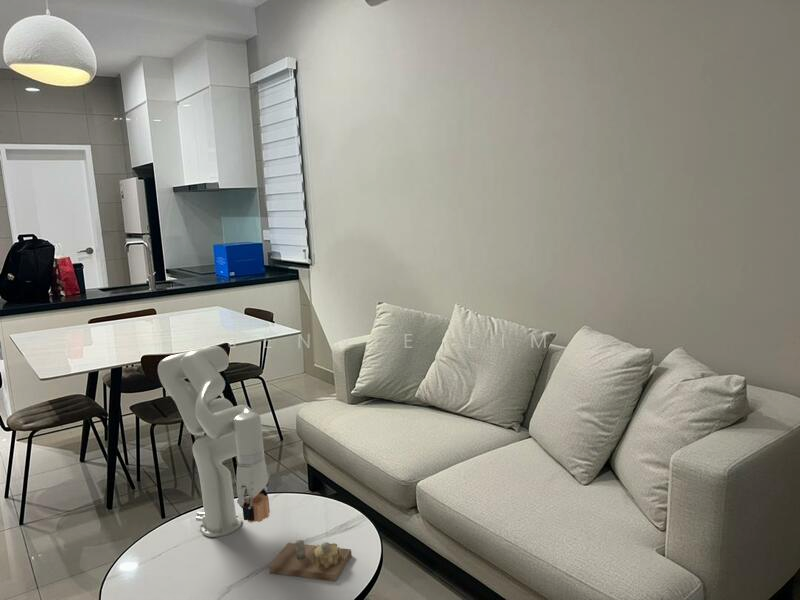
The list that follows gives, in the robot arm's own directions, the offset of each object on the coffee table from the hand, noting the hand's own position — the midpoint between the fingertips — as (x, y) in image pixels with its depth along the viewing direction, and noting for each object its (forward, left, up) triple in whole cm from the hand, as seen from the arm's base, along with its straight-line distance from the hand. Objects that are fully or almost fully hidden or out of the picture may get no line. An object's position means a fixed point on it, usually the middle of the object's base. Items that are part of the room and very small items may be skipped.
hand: (256, 512), depth 177 cm
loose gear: (0, 0, -1) cm, 1 cm away
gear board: (+17, -1, -14) cm, 22 cm away
